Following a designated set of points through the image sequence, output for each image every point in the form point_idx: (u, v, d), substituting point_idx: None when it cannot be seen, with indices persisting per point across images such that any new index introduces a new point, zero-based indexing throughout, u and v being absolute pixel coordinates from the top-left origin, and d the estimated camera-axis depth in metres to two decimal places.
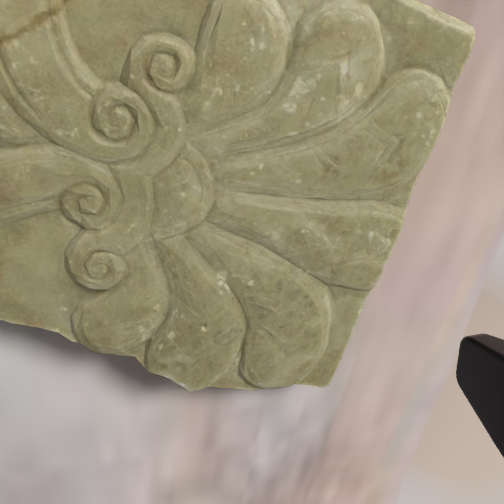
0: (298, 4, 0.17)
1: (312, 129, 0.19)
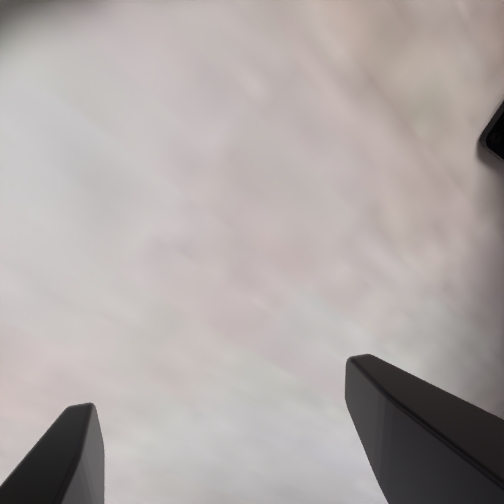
0: None
1: None
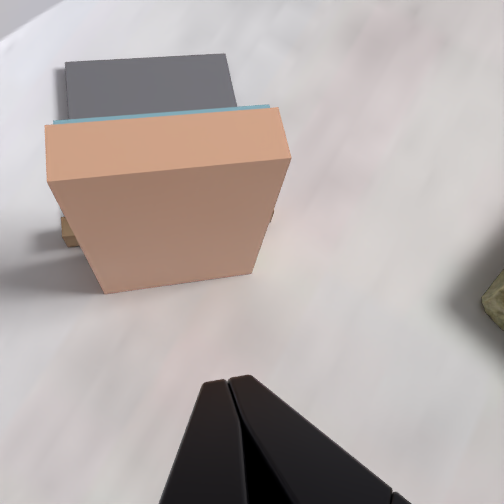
0: None
1: None
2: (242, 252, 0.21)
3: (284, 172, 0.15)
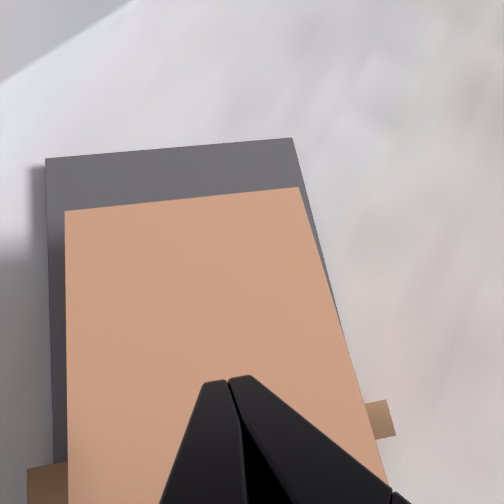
0: None
1: None
2: (340, 426, 0.12)
3: (302, 207, 0.15)
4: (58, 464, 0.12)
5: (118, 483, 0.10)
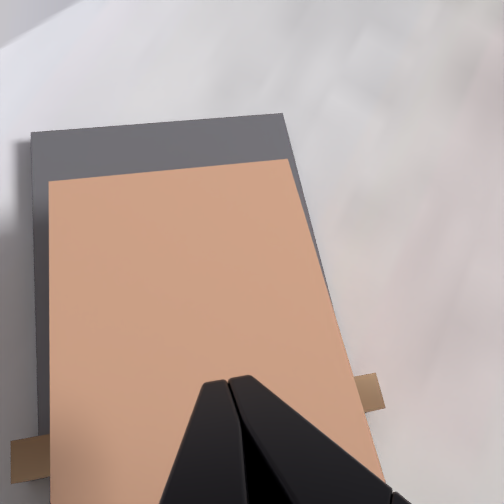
0: None
1: None
2: (328, 394, 0.11)
3: (291, 179, 0.14)
4: (42, 436, 0.12)
5: (101, 450, 0.10)
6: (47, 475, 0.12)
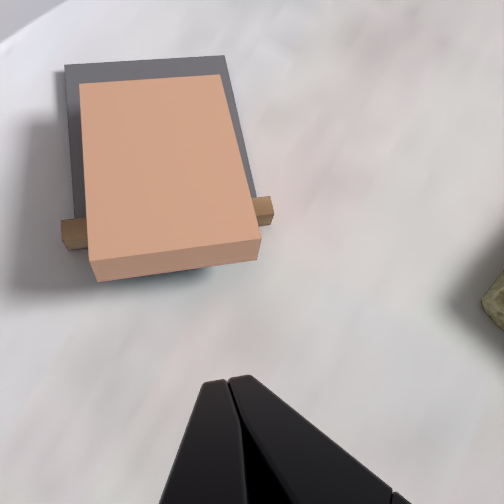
0: None
1: None
2: (231, 185, 0.21)
3: (221, 85, 0.24)
4: (78, 219, 0.22)
5: (111, 204, 0.20)
6: (81, 237, 0.22)
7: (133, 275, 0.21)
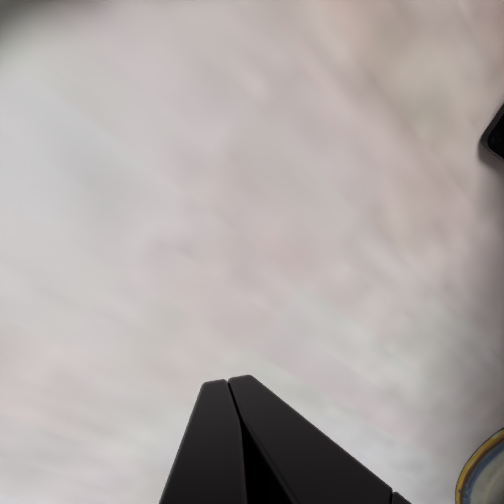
0: None
1: None
2: None
3: None
4: None
5: None
6: None
7: None
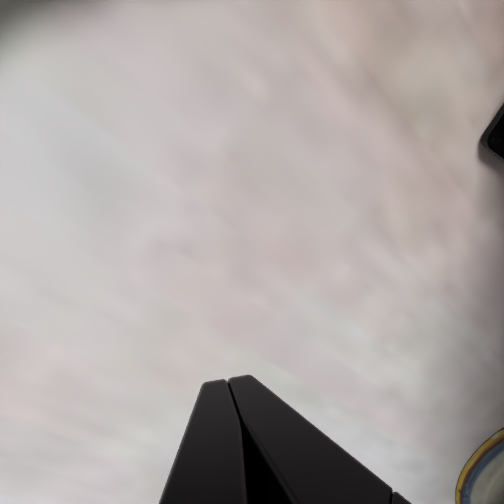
0: None
1: None
2: None
3: None
4: None
5: None
6: None
7: None
